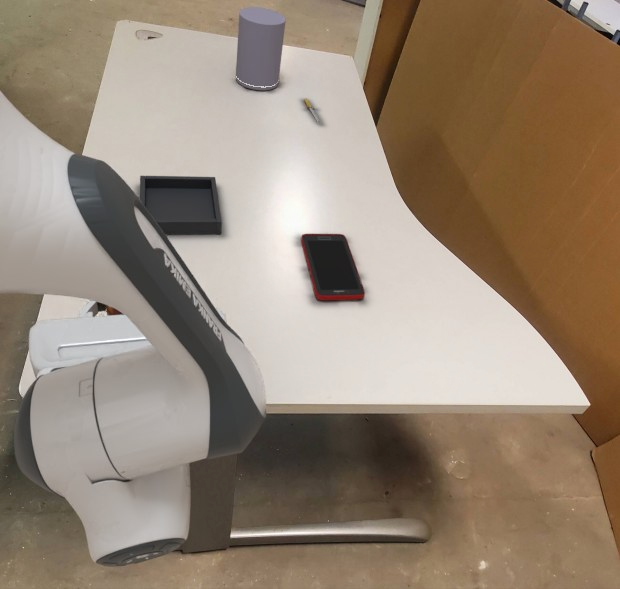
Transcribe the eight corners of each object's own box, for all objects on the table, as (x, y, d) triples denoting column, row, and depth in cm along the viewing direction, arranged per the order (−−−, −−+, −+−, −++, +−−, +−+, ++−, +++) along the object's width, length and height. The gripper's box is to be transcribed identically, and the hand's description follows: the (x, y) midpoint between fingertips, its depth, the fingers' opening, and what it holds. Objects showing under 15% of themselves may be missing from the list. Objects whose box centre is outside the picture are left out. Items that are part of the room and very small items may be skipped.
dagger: (324, 123, 117) (316, 121, 116) (323, 126, 118) (315, 125, 117) (309, 98, 124) (302, 96, 123) (308, 101, 124) (301, 100, 123)
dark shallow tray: (140, 235, 82) (139, 222, 80) (141, 188, 91) (140, 175, 89) (221, 234, 86) (221, 221, 84) (214, 189, 94) (215, 176, 92)
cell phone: (343, 237, 90) (344, 233, 89) (365, 300, 80) (366, 295, 79) (299, 237, 88) (300, 233, 87) (316, 301, 78) (317, 296, 77)
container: (277, 75, 131) (285, 11, 121) (278, 94, 124) (286, 27, 114) (236, 69, 130) (240, 4, 119) (234, 88, 123) (238, 20, 112)
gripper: (241, 361, 53) (222, 268, 62) (16, 385, 47) (31, 278, 56) (237, 396, 58) (220, 304, 67) (31, 422, 52) (43, 317, 61)
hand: (132, 292), depth 61 cm, fingers closed on pill bottle, 6 cm apart
